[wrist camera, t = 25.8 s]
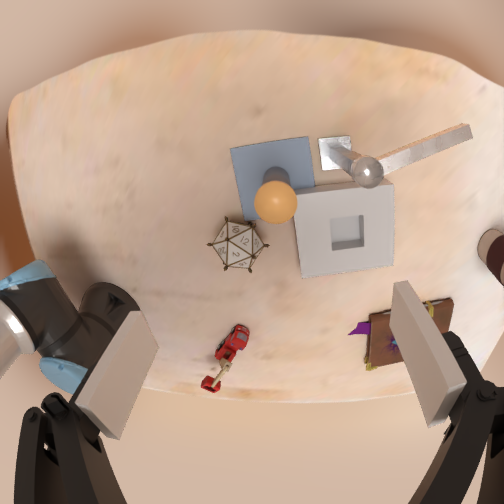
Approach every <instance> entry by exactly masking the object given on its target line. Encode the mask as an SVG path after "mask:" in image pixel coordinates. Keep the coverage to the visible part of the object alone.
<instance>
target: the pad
mask: <svg viewBox="0 0 504 504" xmlns="http://www.w3.org/2000/svg"><path fill="white" fill-rule="evenodd" d="M230 151H231V156H232V161H233V166H234V171H235V176H236V181H237V186H238V191H239V196H240V200H241V205H242V210H243V215H244V220H245V221H249V220H256V219H261V218H260V217H259V215H258V214H257V212H256V210H255V207H254V200H255V196H256V193H257V191H258V189H259V188H260V187H261V185H262V181H263V177H264V174H265V172H266V171H267V170H268V169H269V168H271V167H281V168H283V169H284V170H286V172H287V173H288V175H289V180H290V184H291V187H292V189H293V190H296V189H304V188H312V187H315V181H314V174H313V166H312V159H311V152H310V146H309V139H308V137H301V138H293V139H285V140H278V141H272V142H265V143H259V144H253V145H247V146H242V147H236V148H231V149H230Z"/></svg>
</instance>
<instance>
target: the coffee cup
mask: <svg viewBox="0 0 504 504" xmlns="http://www.w3.org/2000/svg"><path fill="white" fill-rule="evenodd" d="M478 254H479V257H480V259H481V260H482V261H483V262H484V263H485V264H486V265H487V267H488V269H489V270H490V271H491V272H492V274H493V275H494V276H495V277H496V278H497V280H498V281H499V282H500V283H501V284H502V285H503V286H504V234H502V233H501V232H499V231H497V230H494V229H491V230H489V231H487V232H486V233H485V234H484V235H483V236H482V238H481V240H480V242H479V245H478Z"/></svg>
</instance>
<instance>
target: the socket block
mask: <svg viewBox="0 0 504 504" xmlns="http://www.w3.org/2000/svg"><path fill="white" fill-rule="evenodd" d="M294 191H295V194H296V197H297V203H298V204H297V210H296V212H295V214H294V221H295V229H296V236H297V244H298V252H299V260H300V268H301V276H302V278H309V277H317V276H325V275H332V274H339V273H347V272H354V271H361V270H368V269H374V268H381V267H388V266H393V262H394V233H395V205H394V184H393V183H391V182H389V181H388V180H386V179H383V180H382V182H381V183H380V184H379V185H378V186H377V187H375V188H372V189H366V188H363V187H361V186H360V185H359V184H357V183H356V182H347V183H338V184H329V185H320V186H315V187H312V188H304V189H296V190H294Z"/></svg>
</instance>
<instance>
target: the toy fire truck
mask: <svg viewBox="0 0 504 504" xmlns="http://www.w3.org/2000/svg"><path fill="white" fill-rule="evenodd" d="M248 339H249V330H248V329H246V328H245V327H243V326H240V325H237V326H236V328H235V327H233V329H232V331H231V333H230V334H229V336H228V337H227V338H226V340H225V339H224V340H223V341H222V343H221V344H219V346H218V349H217V350H216V353H215V357H216V359H218V360H219V363H220V366H221V368H222V370H221V371H220V373H219V374H218V375H217V377H216V378H215V379H214V378H212V377H210V376H206V377H205V378H204V380H203V381H202V383H201V388H203V389H206V390H208V391H210V392H212V393H215V392H217V391H219V390H220V385H221V381H219V380H220V379H221V377H222V376H223V375H224V373H225V372H226V371H228V370H229V369H230V367H231V365H232V363H231V361H232V360H233V358H234V357H235V355H236V351H237V350H238V349H239V350H241V351H242V350H243V349H244V348H245V347H246V345H247V342H248Z"/></svg>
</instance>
